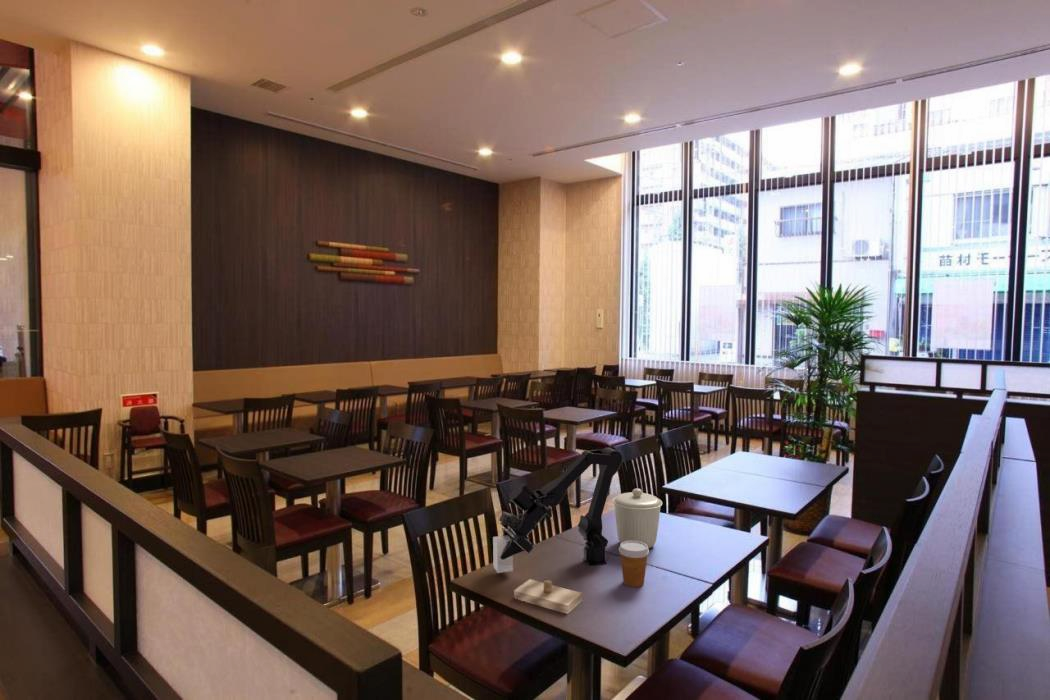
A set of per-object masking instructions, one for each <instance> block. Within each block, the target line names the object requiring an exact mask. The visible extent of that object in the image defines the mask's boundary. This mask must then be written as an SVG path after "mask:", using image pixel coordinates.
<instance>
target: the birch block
mask: <svg viewBox="0 0 1050 700" xmlns="http://www.w3.org/2000/svg"><path fill="white" fill-rule="evenodd" d="M513 593H514V595H513V599H514V598H515V599H514V600H517V599H518V601H522V602H524V601H525V602H524V603H529V604H532V605H536V606H539V607H542V608H545V609H549V610H552V611H555V612H558V613H559V612H560V613H562V614H566V615H568V614H569V613H571V612H572V611H573V610H574V609H575V608H576V607H577V606H578V605H579V604H581V602H583V601H582V600H583V596H582V593H583V592H581V591H577V590H576V591H575V590H571V589H568V588H565V587H560V586H557V585H553V581H552V580H550V579H547V580H544V581H543V582H541V581H538V580H536V579H535V580H534V579H531V578H530V579H528V580H527V581H525V582H524V583H522V584H521V585H519V586H518V587H516V589H514V591H513Z"/></svg>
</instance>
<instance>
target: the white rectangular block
mask: <svg viewBox="0 0 1050 700" xmlns="http://www.w3.org/2000/svg"><path fill="white" fill-rule="evenodd" d="M509 544H510V537H509V535H505V536H503V535H499V536H492V545H493V547H492V548H493V550H492V554H493V555H492V557H493V558H492V559H493V562H492V563H493V568H494V570H495V572H496V573H497V574H501V573H506V572H513V571H514V555H512V556H510V557H508V558H506V559H504V560H502V559H501V556H502V554H503V552H504V551H505V550H506V548H507V547H508V545H509Z"/></svg>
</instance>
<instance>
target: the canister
mask: <svg viewBox="0 0 1050 700" xmlns="http://www.w3.org/2000/svg"><path fill="white" fill-rule="evenodd" d="M612 503H613V505H614V513H615V516H614V517H615V524H616V532H617V538H618V542H619V543H620V544H621V543H622V542H625V541H639V542H643V543H645V544H646V545H647V546H648V549H651V548H652V547H654V546H655V544H656V542H657V537H658V529H659V523H660V514H661V507H662V505H663V501H662V500H661V499H660V498H658V497H657V496H655V495H653V494H650V493H645V492H643V491H642V489H641V488H634V489H632V492H631V491H630V492H623V493H619V494H618V495H617V496H615V497H613V498H612Z"/></svg>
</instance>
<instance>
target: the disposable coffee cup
mask: <svg viewBox="0 0 1050 700" xmlns="http://www.w3.org/2000/svg"><path fill="white" fill-rule="evenodd" d="M649 549H650V548H649ZM649 549H648V546H647V545H646V544H645V543H643V542H639V541H625V542H622V543H620V545H619V547H618V551H619V553H620V562H621V563H620V564H621V570H622V581H623V584H624V585H625V586H628V587H630V588H631V587H632V588H640V587H642V586H644V585H645V578H646V570H647V561H648V555H649V553H650V550H649Z"/></svg>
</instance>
